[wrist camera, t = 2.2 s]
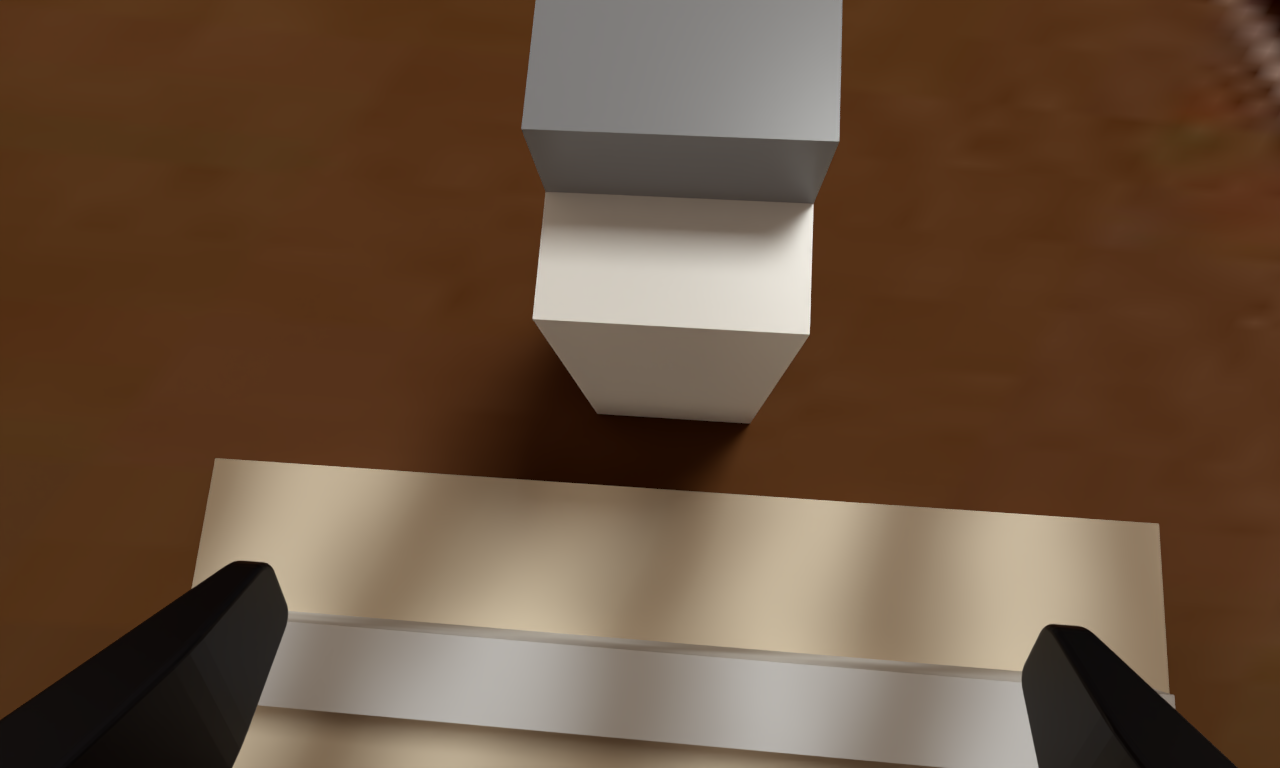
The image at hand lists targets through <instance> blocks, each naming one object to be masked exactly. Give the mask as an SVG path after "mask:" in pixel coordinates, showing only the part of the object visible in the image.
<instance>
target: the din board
mask: <svg viewBox="0 0 1280 768" xmlns="http://www.w3.org/2000/svg"><path fill="white" fill-rule="evenodd" d="M234 561H255V562H265V563H268V564H269V565H270V566H272V567H273V569H274V571H275V574H276V577H277V579H278V582H279V584H280V587H281V590H282V592H283V595H284V597H285V600H286V603H287V606H288V621H287V626H286V629H285V632H284V634H283V637H282V640H281V643H280V645H279V648H278V651H277V654H276V656H275V659H274V662H273V664H272V667H271V670H270V673H269V675H268V678H267V681H266V684H265V686H264V689H263V692H262V695H261V697H260V700H259V703H258V705H257V708H256V711H255V714H254V716H253V719H252V722H251V725H250V727H249V730H248V732H247V735H246V737H245V740H244V742H243V745H242V747H241V750H240V752H239V754H238V756H237V759H236V761H235V763H234V765H233V767H232V768H1038V763H1037V758H1036V753H1035V748H1034V744H1033V739H1032V734H1031V729H1030V724H1029V719H1028V715H1027V710H1026V705H1025V700H1024V695H1023V690H1022V682H1021V677H1022V670H1023V666H1024V664H1025V662H1026V660H1027V658H1028V656H1029V654H1030V652H1031V650H1032V648H1033V646H1034V644H1035V642H1036V640H1037V638H1038V636H1039V634H1040V632H1041V630H1042V629H1043V628H1044V627H1045V626H1047V625H1048V624H1061V625H1074V626H1081V627H1084V628H1087V629H1088V630H1090V631H1091V632H1093V633H1094V634H1095V635H1096V636H1097V637H1098V638H1099V639H1100V640H1101V641H1102V642H1104V643H1105V644H1106V645H1107V646H1108V647H1109V648H1110V649H1111V650H1112V651H1113V652H1114V653H1115V654H1116V655H1117V656H1119V657H1120V658H1121V659H1122V660H1123V661H1124V662H1125V663H1126V664H1127V665H1128V666H1129V667H1130V668H1131V669H1132V670H1134V671H1135V672H1136V673H1137V674H1138V675H1139V676H1140V677H1141V678H1142V679H1143V680H1144V681H1145V682H1146V683H1147V684H1149V685H1150V686H1151V687H1152V688H1153V689H1154V690H1155V691H1156V692H1157V693H1158V694H1159V695H1160V696H1161V697H1162V698H1164V699H1165V700H1166V701H1167V702H1168V703H1169V704H1170V705H1171V706H1172V707H1173V708H1174V709H1175V698H1174V695H1172V694H1169V680H1168V664H1167V648H1166V632H1165V615H1164V599H1163V583H1162V567H1161V551H1160V535H1159V524H1155V523H1141V522H1126V521H1112V520H1098V519H1083V518H1069V517H1054V516H1040V515H1026V514H1011V513H997V512H982V511H968V510H954V509H939V508H925V507H910V506H896V505H882V504H867V503H853V502H838V501H824V500H810V499H795V498H781V497H766V496H752V495H738V494H723V493H709V492H694V491H680V490H666V489H651V488H637V487H622V486H608V485H594V484H579V483H565V482H550V481H536V480H521V479H507V478H493V477H478V476H464V475H449V474H435V473H421V472H406V471H392V470H377V469H363V468H349V467H334V466H320V465H305V464H291V463H277V462H262V461H248V460H233V459H219V458H215V463H214V469H213V474H212V480H211V485H210V491H209V496H208V502H207V507H206V513H205V518H204V524H203V529H202V535H201V540H200V546H199V551H198V557H197V562H196V568H195V573H194V579H193V584H192V588H194V587H195V586H197V585H198V584H200V583H201V582H202V581H204V580H205V579H207V578H208V577H210V576H211V575H213V574H214V573H216V572H217V571H218V570H220V569H221V568H223V567H224V566H226V565H228V564H229V563H232V562H234Z"/></svg>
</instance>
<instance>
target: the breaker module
mask: <svg viewBox="0 0 1280 768" xmlns="http://www.w3.org/2000/svg"><path fill="white" fill-rule="evenodd" d="M841 37H842V0H536V3H535V12H534V21H533V30H532V39H531V48H530V57H529V66H528V75H527V84H526V93H525V102H524V110H523V119H522V128H521V129H522V132H523V134H524V137H525V139H526V142H527V145H528V147H529V150H530V152H531V155H532V158H533V160H534V163H535V165H536V168H537V170H538V173H539V176H540V178H541V181H542V183H543V186H544V188H545V191H546V194H545V204H544V214H543V223H542V233H541V243H540V252H539V262H538V272H537V282H536V291H535V301H534V311H533V320H534V322H535V323H536V325H537V326H538V328H539V329H540V331H541V332H542V334H543V335H544V336H545V338H546V339H547V341H548V342H549V344H550V345H551V347H552V348H553V350H554V351H555V353H556V354H557V356H558V357H559V358H560V360H561V361H562V363H563V364H564V366H565V367H566V369H567V370H568V372H569V373H570V375H571V376H572V378H573V379H574V380H575V382H576V383H577V385H578V386H579V388H580V389H581V391H582V392H583V394H584V395H585V397H586V398H587V400H588V401H589V402H590V404H591V405H592V407H593V408H594V410H595V411H596V413H597V414H607V415H623V416H638V417H654V418H670V419H686V420H701V421H717V422H733V423H749V424H750V423H751V421H752V420H753V418H754V417H755V415H756V414H757V412H758V411H759V409H760V408H761V406H762V405H763V403H764V402H765V400H766V399H767V397H768V396H769V394H770V393H771V391H772V390H773V388H774V387H775V385H776V384H777V383H778V381H779V380H780V378H781V377H782V375H783V374H784V372H785V371H786V369H787V368H788V366H789V365H790V363H791V362H792V360H793V359H794V357H795V356H796V354H797V353H798V351H799V350H800V348H801V347H802V345H803V344H804V342H805V341H806V339H807V338H808V336H809V335H810V308H811V272H812V237H813V204H814V201H815V199H816V196H817V194H818V192H819V189H820V187H821V184H822V182H823V179H824V177H825V175H826V172H827V170H828V167H829V165H830V163H831V160H832V158H833V155H834V153H835V151H836V148H837V146H838V143H839V130H840V83H841Z"/></svg>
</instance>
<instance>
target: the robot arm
mask: <svg viewBox="0 0 1280 768" xmlns="http://www.w3.org/2000/svg"><path fill="white" fill-rule="evenodd" d="M287 621H288V606H287V603H286V600H285V597H284V595H283V592H282V590H281V587H280V584H279V582H278V579H277V577H276V574H275V571H274V569H273V567H272V566H270V565H269V564H268V563H265V562H255V561H234V562H232V563H229V564H228V565H226V566H224V567H223V568H221V569H220V570H218V571H217V572H216V573H214V574H213V575H211V576H210V577H208V578H207V579H205V580H204V581H202V582H201V583H200V584H198V585H197V586H195V587H194V588H192V589H191V590H189V591H188V592H186V593H185V594H183V595H182V596H181V597H179V598H178V599H176V600H175V601H173V602H172V603H170V604H169V605H167V606H166V607H165V608H163V609H162V610H160V611H159V612H157V613H156V614H154V615H153V616H151V617H150V618H149V619H147V620H146V621H144V622H143V623H141V624H140V625H138V626H137V627H135V628H134V629H132V630H131V631H130V632H128V633H127V634H125V635H124V636H122V637H121V638H119V639H118V640H116V641H115V642H114V643H112V644H111V645H109V646H108V647H106V648H105V649H103V650H102V651H100V652H99V653H97V654H96V655H95V656H93V657H92V658H90V659H89V660H87V661H86V662H84V663H83V664H81V665H80V666H79V667H77V668H76V669H74V670H73V671H71V672H70V673H68V674H67V675H65V676H64V677H62V678H61V679H60V680H58V681H57V682H55V683H54V684H52V685H51V686H49V687H48V688H46V689H45V690H44V691H42V692H41V693H39V694H38V695H36V696H35V697H33V698H32V699H30V700H29V701H28V702H26V703H25V704H23V705H22V706H20V707H19V708H17V709H16V710H14V711H13V712H11V713H10V714H9V715H7V716H6V717H4V718H3V719H1V720H0V768H232V767H233V765H234V763H235V761H236V759H237V756H238V754H239V752H240V750H241V747H242V745H243V742H244V740H245V737H246V735H247V732H248V730H249V727H250V725H251V722H252V719H253V716H254V714H255V711H256V708H257V705H258V703H259V700H260V697H261V695H262V692H263V689H264V686H265V684H266V681H267V678H268V675H269V673H270V670H271V667H272V664H273V662H274V659H275V656H276V654H277V651H278V648H279V645H280V643H281V640H282V637H283V634H284V632H285V629H286V626H287ZM1021 682H1022V690H1023V695H1024V700H1025V705H1026V710H1027V715H1028V719H1029V724H1030V729H1031V734H1032V739H1033V744H1034V748H1035V753H1036V758H1037V763H1038V768H1237V767H1236V766H1235V765H1234V764H1233V763H1232V762H1231V761H1230V760H1229V759H1228V758H1227V757H1226V756H1225V755H1223V754H1222V753H1221V752H1220V751H1219V750H1218V749H1217V748H1216V747H1215V746H1214V745H1213V744H1212V743H1211V742H1210V741H1208V740H1207V739H1206V738H1205V737H1204V736H1203V735H1202V734H1201V733H1200V732H1199V731H1198V730H1197V729H1196V728H1195V727H1193V726H1192V725H1191V724H1190V723H1189V722H1188V721H1187V720H1186V719H1185V718H1184V717H1183V716H1182V715H1181V714H1180V713H1178V712H1177V711H1176V710H1175V709H1174V708H1173V707H1172V706H1171V705H1170V704H1169V703H1168V702H1167V701H1166V700H1165V699H1164V698H1162V697H1161V696H1160V695H1159V694H1158V693H1157V692H1156V691H1155V690H1154V689H1153V688H1152V687H1151V686H1150V685H1149V684H1147V683H1146V682H1145V681H1144V680H1143V679H1142V678H1141V677H1140V676H1139V675H1138V674H1137V673H1136V672H1135V671H1134V670H1132V669H1131V668H1130V667H1129V666H1128V665H1127V664H1126V663H1125V662H1124V661H1123V660H1122V659H1121V658H1120V657H1119V656H1117V655H1116V654H1115V653H1114V652H1113V651H1112V650H1111V649H1110V648H1109V647H1108V646H1107V645H1106V644H1105V643H1104V642H1102V641H1101V640H1100V639H1099V638H1098V637H1097V636H1096V635H1095V634H1094V633H1093V632H1091V631H1090V630H1088V629H1087V628H1084V627H1081V626H1074V625H1061V624H1048V625H1047V626H1045V627H1044V628H1043V629H1042V630H1041V632H1040V634H1039V636H1038V638H1037V640H1036V642H1035V644H1034V646H1033V648H1032V650H1031V652H1030V654H1029V656H1028V658H1027V660H1026V662H1025V664H1024V666H1023V670H1022V677H1021Z"/></svg>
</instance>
